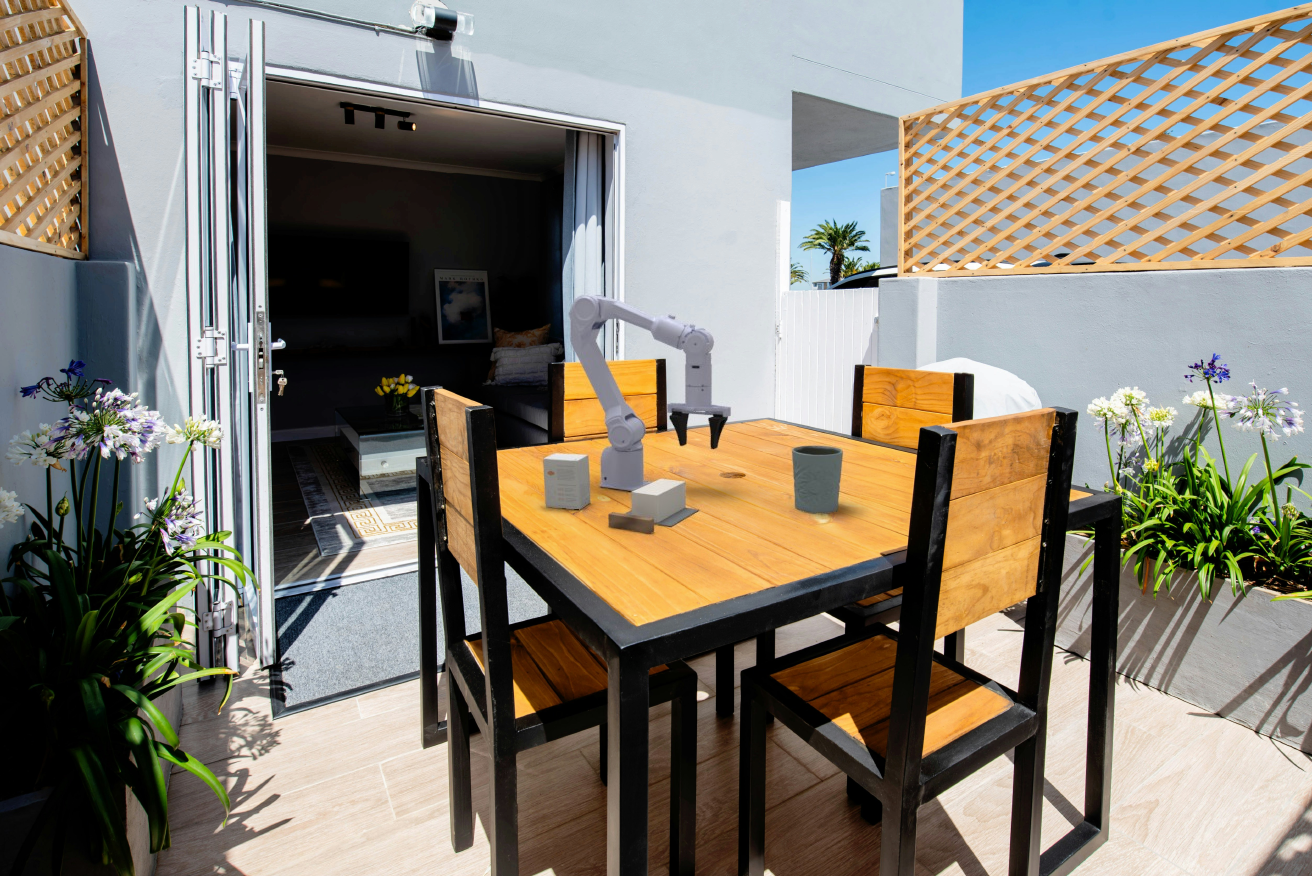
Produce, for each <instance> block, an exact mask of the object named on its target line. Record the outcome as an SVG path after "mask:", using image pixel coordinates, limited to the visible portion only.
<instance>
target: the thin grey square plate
mask: <svg viewBox="0 0 1312 876" xmlns="http://www.w3.org/2000/svg"><path fill="white" fill-rule="evenodd" d="M699 511H700V509H697V508H692V507H691V508H690V507H686V508H683V509H682V510H680V511H678V512H676V513H674V514H673V515H671V516H669V517H667V518H666V519H664V520H662V521H660V522H658V523H654V525H657V526H661V527H662V526H663V527H669V528H671V527H673V526H676V525H677V524H678V523H681V522H682V521H684V520H686V519H687V518H689V517H690V516H692V515H694V514H695V513H698V512H699ZM624 514H629V515H632V509H631V510H629V511H626V512H624Z"/></svg>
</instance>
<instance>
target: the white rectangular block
mask: <svg viewBox="0 0 1312 876" xmlns="http://www.w3.org/2000/svg"><path fill="white" fill-rule="evenodd" d="M630 492H631V493H630V496H631V502H630V503H631V510H632V515H635V516H642V517H648V518H654V523H658V522H660V521H662V520H664V519H666V518H667V517H669V516H671V515H673V514H674V513H676V512H678V511H680V510H682V509H683V508H687V507H686V481H684V480H683V481H681V480H674V479H666V478H659V479H657V480H655V481H651V483H650V484H648V485H646V486H643V487H641V488H639V489H637V490H634V491H630Z"/></svg>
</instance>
